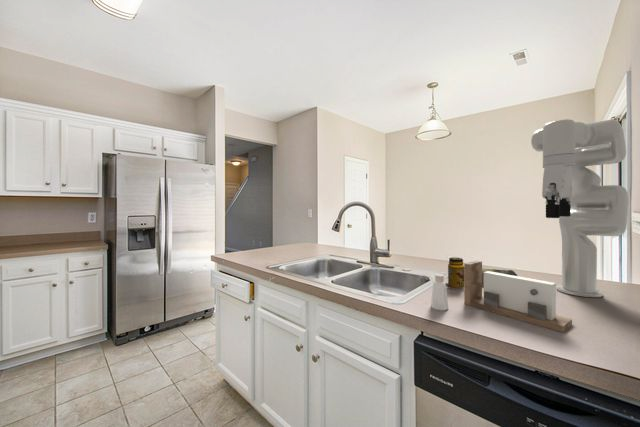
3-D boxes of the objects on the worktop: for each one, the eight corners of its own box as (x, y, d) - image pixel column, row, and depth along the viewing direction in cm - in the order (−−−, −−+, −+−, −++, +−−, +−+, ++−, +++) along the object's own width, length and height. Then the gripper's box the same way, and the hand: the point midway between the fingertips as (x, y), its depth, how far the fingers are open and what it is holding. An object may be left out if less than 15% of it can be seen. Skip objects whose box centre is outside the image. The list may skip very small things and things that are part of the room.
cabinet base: (476, 298, 97) (476, 260, 97) (572, 324, 76) (572, 275, 75) (464, 303, 93) (464, 263, 92) (562, 332, 71) (563, 279, 71)
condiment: (466, 290, 108) (466, 260, 107) (443, 288, 110) (443, 259, 110) (463, 284, 115) (463, 256, 114) (441, 283, 117) (441, 256, 117)
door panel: (487, 300, 92) (487, 271, 91) (555, 317, 77) (555, 283, 77) (482, 302, 89) (482, 272, 89) (550, 321, 75) (550, 285, 74)
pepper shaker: (427, 305, 92) (427, 273, 91) (441, 303, 93) (441, 272, 93) (437, 311, 86) (437, 277, 86) (452, 309, 88) (452, 276, 87)
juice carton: (461, 283, 117) (461, 269, 117) (460, 278, 126) (460, 265, 126) (517, 289, 108) (518, 274, 108) (512, 283, 117) (512, 269, 117)
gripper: (553, 165, 91) (552, 215, 91) (532, 161, 81) (532, 218, 82) (583, 161, 84) (583, 216, 85) (565, 157, 75) (564, 219, 76)
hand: (558, 217), depth 83 cm, fingers open, 9 cm apart
